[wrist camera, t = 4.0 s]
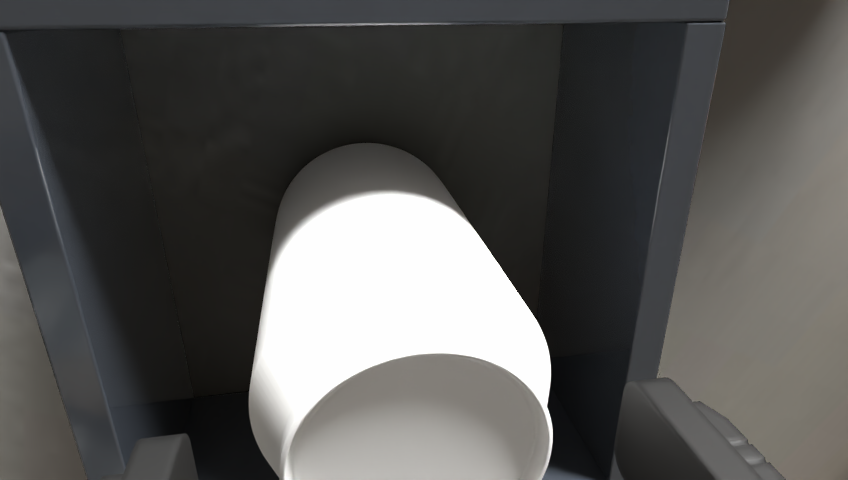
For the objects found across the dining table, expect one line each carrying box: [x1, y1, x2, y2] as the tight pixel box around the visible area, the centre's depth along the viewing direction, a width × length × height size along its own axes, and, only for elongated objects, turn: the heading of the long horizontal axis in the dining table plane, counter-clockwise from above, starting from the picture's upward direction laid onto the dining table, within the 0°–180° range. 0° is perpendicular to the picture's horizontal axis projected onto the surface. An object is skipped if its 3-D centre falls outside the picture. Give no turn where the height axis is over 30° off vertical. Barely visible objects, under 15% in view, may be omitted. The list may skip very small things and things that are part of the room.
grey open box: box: [0, 0, 730, 480], centre depth 18 cm, size 16×16×7 cm
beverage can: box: [249, 143, 553, 480], centre depth 15 cm, size 6×6×12 cm
